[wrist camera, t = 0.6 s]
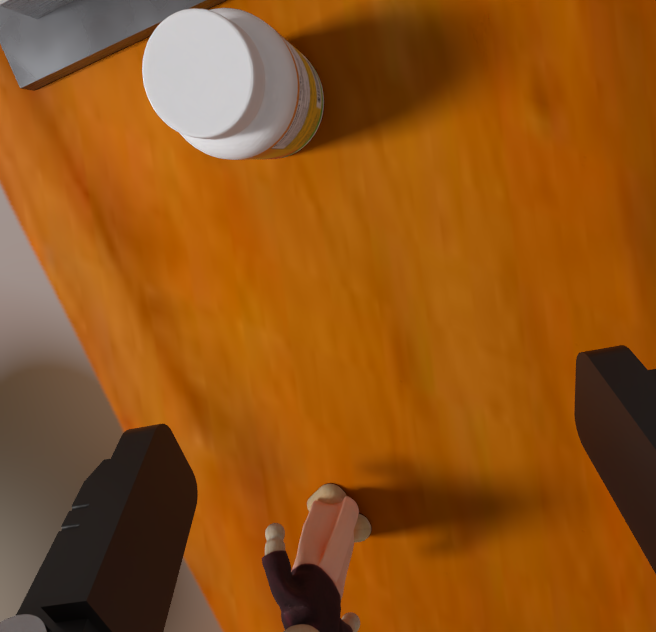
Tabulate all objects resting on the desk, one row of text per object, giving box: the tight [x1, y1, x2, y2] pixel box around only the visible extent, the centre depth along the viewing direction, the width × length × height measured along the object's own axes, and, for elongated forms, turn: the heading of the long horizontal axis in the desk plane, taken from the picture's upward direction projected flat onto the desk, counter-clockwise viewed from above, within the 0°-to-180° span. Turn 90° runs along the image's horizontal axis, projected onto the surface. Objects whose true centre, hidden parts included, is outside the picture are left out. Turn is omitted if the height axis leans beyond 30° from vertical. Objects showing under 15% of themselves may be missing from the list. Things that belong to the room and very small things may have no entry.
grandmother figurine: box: [262, 484, 371, 632], centre depth 27 cm, size 8×4×13 cm, turn 48°
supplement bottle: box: [142, 8, 324, 160], centre depth 22 cm, size 5×5×10 cm
